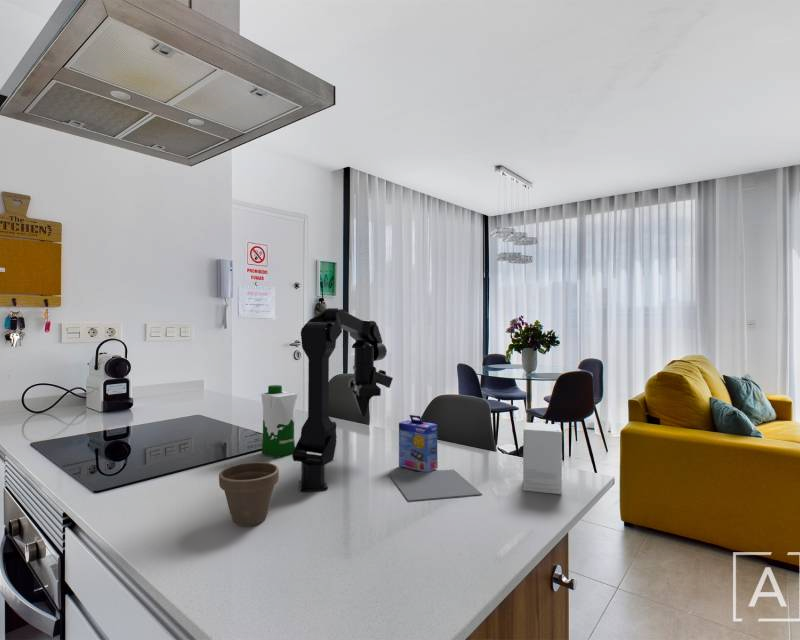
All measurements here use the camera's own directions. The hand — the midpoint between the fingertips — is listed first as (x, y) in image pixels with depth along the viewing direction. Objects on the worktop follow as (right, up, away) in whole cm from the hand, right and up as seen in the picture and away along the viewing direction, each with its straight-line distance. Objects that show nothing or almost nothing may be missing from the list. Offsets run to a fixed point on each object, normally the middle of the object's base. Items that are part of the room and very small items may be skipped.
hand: (363, 415), depth 138 cm
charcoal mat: (+19, -13, -22) cm, 32 cm away
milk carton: (-26, -12, +2) cm, 28 cm away
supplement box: (+46, -13, -22) cm, 53 cm away
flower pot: (-20, -12, -44) cm, 50 cm away
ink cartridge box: (+16, -13, -10) cm, 22 cm away
